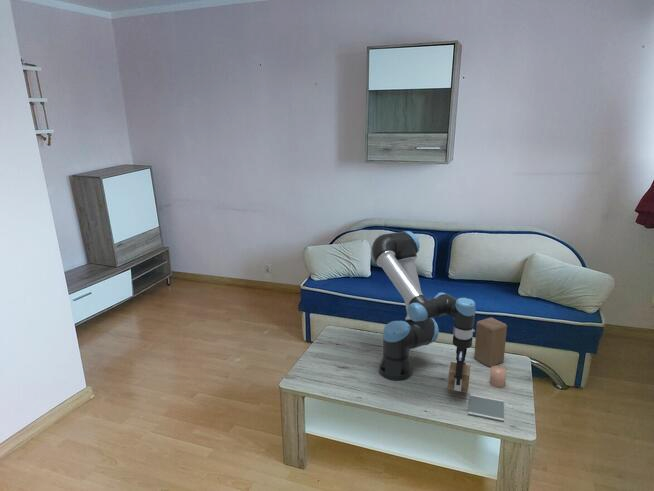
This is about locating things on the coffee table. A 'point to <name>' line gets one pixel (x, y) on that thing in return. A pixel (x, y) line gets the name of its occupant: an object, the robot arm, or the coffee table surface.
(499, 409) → the mat
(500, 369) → the pink cylinder
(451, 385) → the cube
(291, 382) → the coffee table surface
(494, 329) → the wooden block
